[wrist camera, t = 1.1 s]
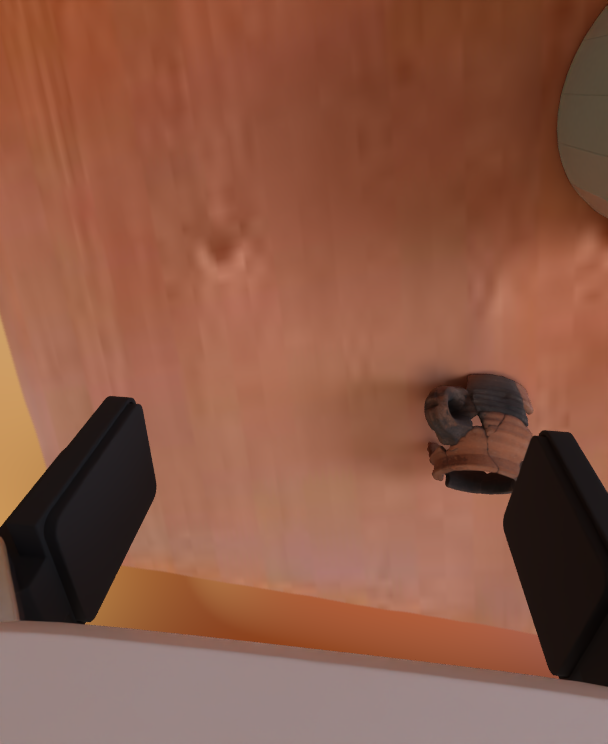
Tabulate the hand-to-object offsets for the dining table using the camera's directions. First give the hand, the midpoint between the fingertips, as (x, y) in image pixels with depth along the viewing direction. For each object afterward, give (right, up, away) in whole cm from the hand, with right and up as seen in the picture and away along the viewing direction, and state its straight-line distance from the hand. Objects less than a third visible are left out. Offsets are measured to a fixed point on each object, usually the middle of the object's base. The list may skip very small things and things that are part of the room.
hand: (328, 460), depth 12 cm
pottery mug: (+14, -1, +31) cm, 34 cm away
